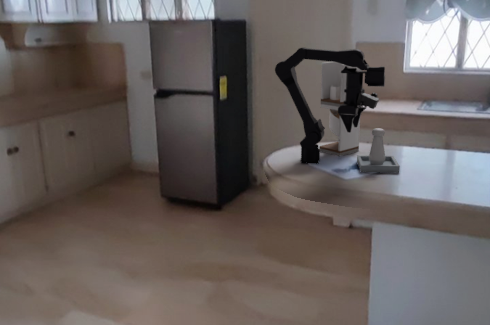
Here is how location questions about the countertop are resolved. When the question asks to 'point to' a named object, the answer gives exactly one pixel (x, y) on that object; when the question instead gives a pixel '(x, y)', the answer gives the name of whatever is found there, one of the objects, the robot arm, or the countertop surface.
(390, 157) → the tray
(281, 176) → the countertop surface
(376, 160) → the salt shaker
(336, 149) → the display case
